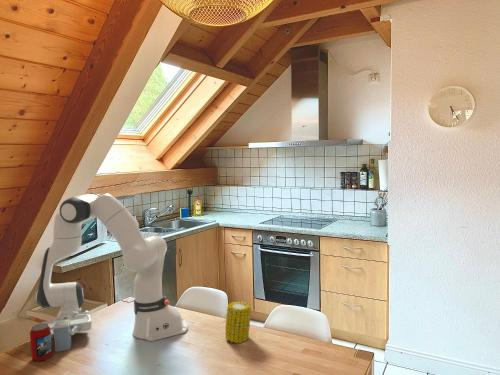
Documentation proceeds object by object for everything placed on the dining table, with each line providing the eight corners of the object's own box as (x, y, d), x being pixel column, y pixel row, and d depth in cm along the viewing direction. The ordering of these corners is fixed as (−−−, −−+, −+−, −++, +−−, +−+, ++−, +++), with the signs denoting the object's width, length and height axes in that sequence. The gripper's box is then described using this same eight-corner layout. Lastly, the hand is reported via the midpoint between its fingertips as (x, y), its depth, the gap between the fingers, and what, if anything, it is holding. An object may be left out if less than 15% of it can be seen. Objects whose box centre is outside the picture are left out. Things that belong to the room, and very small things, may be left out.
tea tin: (71, 343, 160) (70, 319, 159) (70, 349, 155) (68, 324, 154) (57, 345, 158) (55, 321, 157) (55, 351, 153) (53, 326, 152)
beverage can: (44, 363, 145) (41, 331, 144) (27, 361, 147) (25, 329, 145) (56, 353, 152) (54, 323, 151) (40, 352, 153) (38, 321, 152)
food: (226, 337, 164) (250, 338, 164) (223, 345, 152) (249, 346, 152) (227, 299, 166) (251, 300, 166) (224, 303, 154) (250, 304, 154)
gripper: (39, 317, 165) (31, 331, 152) (92, 309, 171) (89, 323, 158) (40, 331, 165) (32, 347, 152) (93, 324, 171) (90, 338, 158)
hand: (62, 334), depth 155 cm, fingers closed on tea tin, 5 cm apart
